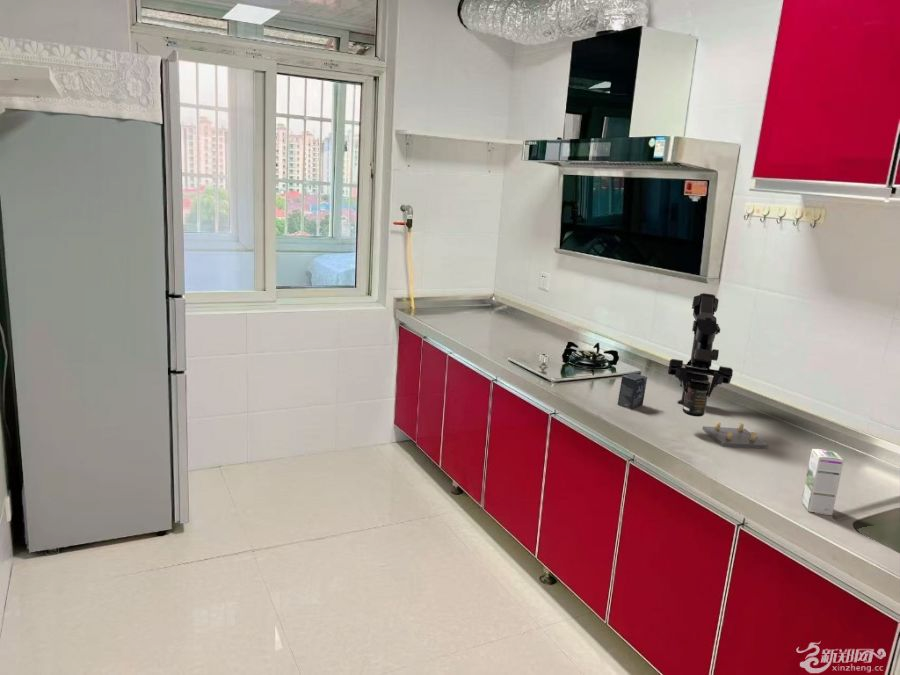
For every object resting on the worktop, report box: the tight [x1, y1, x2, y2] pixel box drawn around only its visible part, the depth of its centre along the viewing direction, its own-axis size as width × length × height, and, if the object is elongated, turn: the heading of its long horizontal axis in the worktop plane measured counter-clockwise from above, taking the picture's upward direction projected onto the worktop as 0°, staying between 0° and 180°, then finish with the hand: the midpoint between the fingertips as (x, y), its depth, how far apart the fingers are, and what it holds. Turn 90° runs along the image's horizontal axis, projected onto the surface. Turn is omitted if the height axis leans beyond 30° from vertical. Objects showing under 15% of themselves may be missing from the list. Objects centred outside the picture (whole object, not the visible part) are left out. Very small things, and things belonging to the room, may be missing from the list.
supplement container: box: [682, 378, 711, 418], centre depth 215 cm, size 7×7×10 cm
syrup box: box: [801, 448, 844, 516], centre depth 168 cm, size 6×6×14 cm
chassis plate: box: [702, 421, 768, 449], centre depth 214 cm, size 14×14×4 cm
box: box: [617, 372, 648, 410], centre depth 238 cm, size 8×6×11 cm
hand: (696, 394), depth 213 cm, fingers closed on supplement container, 7 cm apart
